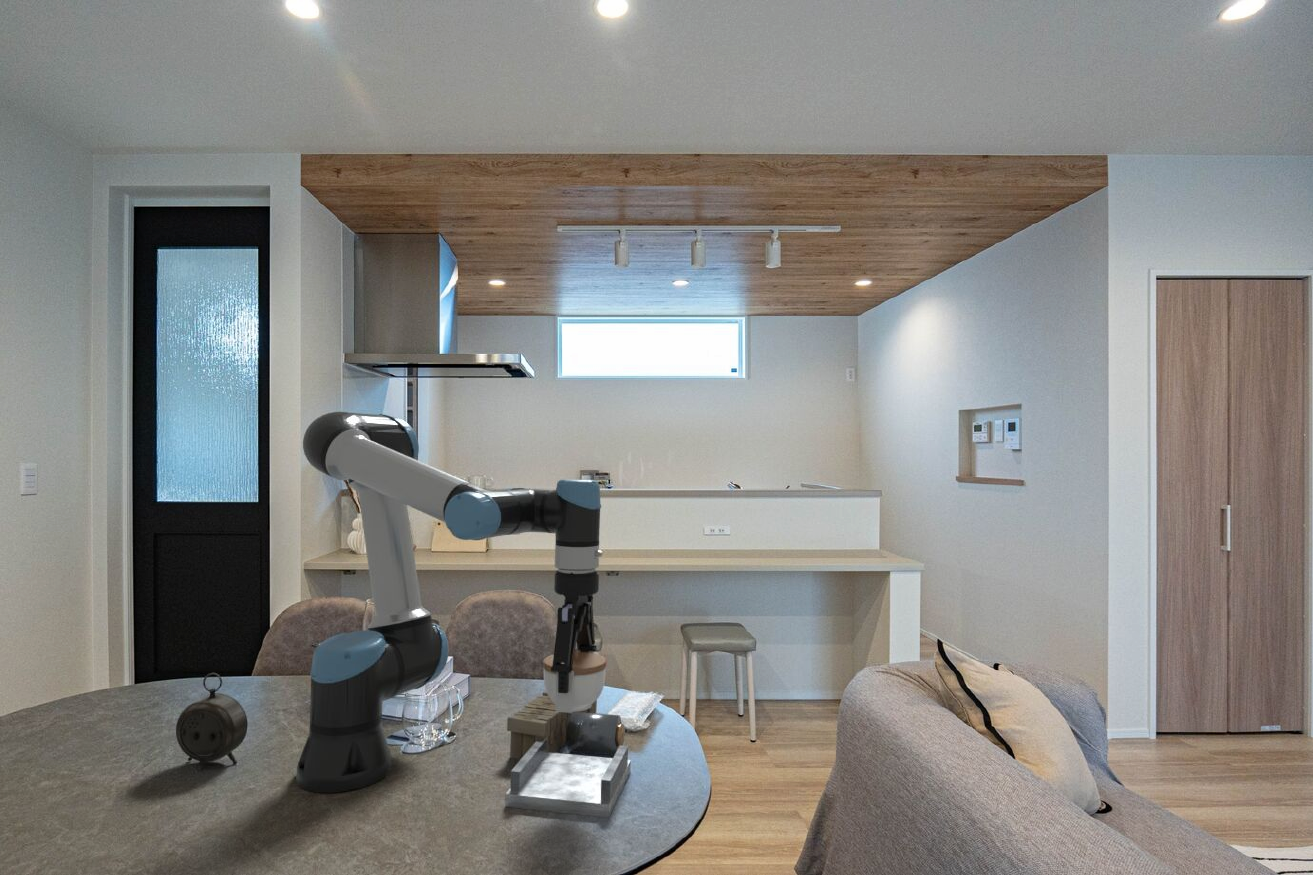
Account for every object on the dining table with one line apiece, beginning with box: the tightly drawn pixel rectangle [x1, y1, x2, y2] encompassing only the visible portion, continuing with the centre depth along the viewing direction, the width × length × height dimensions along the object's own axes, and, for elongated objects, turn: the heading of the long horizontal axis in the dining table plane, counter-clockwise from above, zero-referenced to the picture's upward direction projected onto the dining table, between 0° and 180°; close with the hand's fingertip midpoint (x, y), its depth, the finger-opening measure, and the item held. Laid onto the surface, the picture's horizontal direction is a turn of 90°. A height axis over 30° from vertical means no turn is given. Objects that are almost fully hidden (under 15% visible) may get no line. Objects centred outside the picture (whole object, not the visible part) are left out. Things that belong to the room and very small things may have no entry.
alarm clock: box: [175, 672, 249, 771], centre depth 128 cm, size 11×5×16 cm, turn 85°
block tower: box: [506, 690, 598, 760], centre depth 146 cm, size 8×8×29 cm
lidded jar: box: [542, 648, 607, 712], centre depth 122 cm, size 11×11×9 cm
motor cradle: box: [504, 712, 632, 819], centre depth 127 cm, size 17×28×7 cm, turn 171°
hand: (574, 699), depth 122 cm, fingers closed on lidded jar, 11 cm apart
